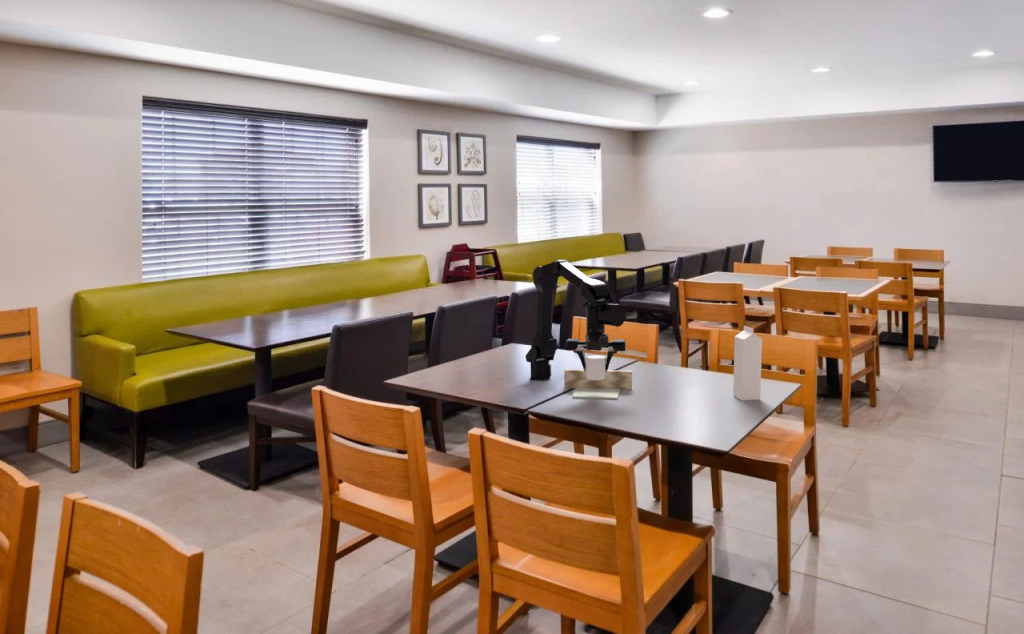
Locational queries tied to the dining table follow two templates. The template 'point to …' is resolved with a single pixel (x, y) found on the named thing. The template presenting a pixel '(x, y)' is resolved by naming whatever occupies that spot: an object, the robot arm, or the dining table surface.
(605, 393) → the pad
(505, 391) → the dining table surface
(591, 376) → the white cup
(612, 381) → the board
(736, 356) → the milk
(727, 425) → the dining table surface
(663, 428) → the dining table surface
